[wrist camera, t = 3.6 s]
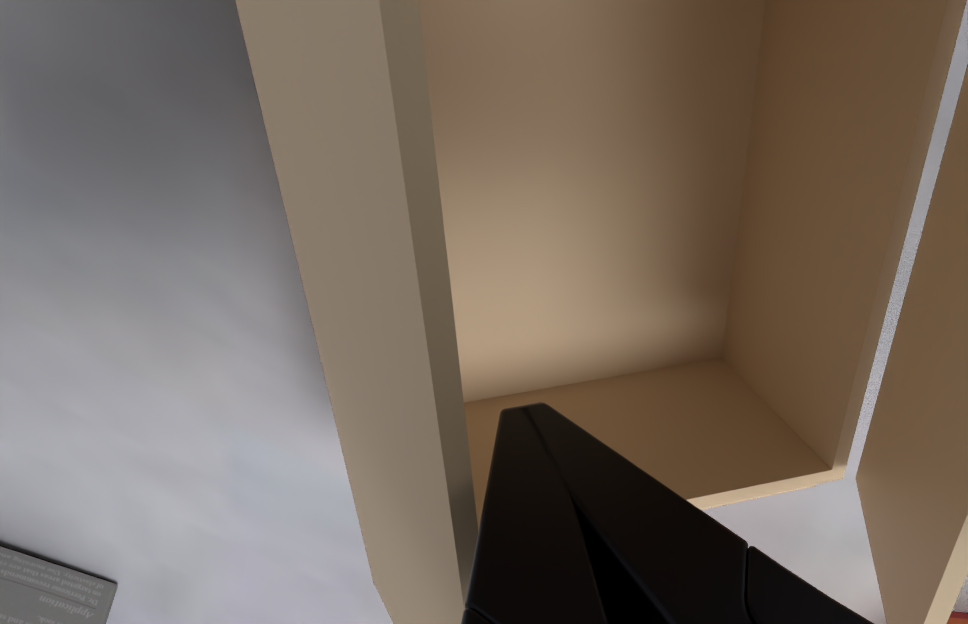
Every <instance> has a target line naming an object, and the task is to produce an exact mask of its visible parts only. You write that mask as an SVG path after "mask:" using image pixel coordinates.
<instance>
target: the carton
mask: <svg viewBox="0 0 968 624" xmlns="http://www.w3.org/2000/svg"><path fill="white" fill-rule="evenodd" d="M966 1H967V0H418V2H419V11H420V20H421V29H422V38H423V46H424V55H425V64H426V73H427V82H428V91H429V99H430V108H431V117H432V126H433V135H434V144H435V152H436V161H437V170H438V179H439V188H440V197H441V205H442V214H443V223H444V232H445V241H446V249H447V258H448V267H449V276H450V285H451V294H452V302H453V311H454V320H455V329H456V338H457V347H458V355H459V364H460V373H461V382H462V391H463V400H464V408H465V417H466V426H467V435H468V444H469V452H470V461H471V470H472V479H473V488H474V497H475V505H476V514H477V523H478V531H479V525H480V520H481V514H482V509H483V503H484V498H485V492H486V487H487V481H488V476H489V470H490V465H491V459H492V454H493V448H494V443H495V437H496V432H497V426H498V421H499V415H500V412H501V410H502V409H504V408H509V407H515V406H521V405H526V404H532V403H537V402H544V403H546V404H548V405H550V406H551V407H552V408H554V409H555V410H557V411H558V412H560V413H561V414H563V415H564V416H565V417H567V418H568V419H570V420H571V421H573V422H574V423H576V424H577V425H578V426H580V427H581V428H583V429H584V430H586V431H587V432H589V433H590V434H591V435H593V436H594V437H596V438H597V439H599V440H600V441H602V442H603V443H605V444H606V445H607V446H609V447H610V448H612V449H613V450H615V451H616V452H618V453H619V454H620V455H622V456H623V457H625V458H626V459H628V460H629V461H631V462H632V463H633V464H635V465H636V466H638V467H639V468H641V469H642V470H644V471H645V472H646V473H648V474H649V475H651V476H652V477H654V478H655V479H657V480H658V481H660V482H661V483H662V484H664V485H665V486H667V487H668V488H670V489H671V490H673V491H674V492H675V493H677V494H678V495H680V496H681V497H683V498H684V499H686V500H687V501H688V502H690V503H691V504H693V505H694V506H696V507H697V508H699V509H700V510H703V509H707V508H712V507H717V506H722V505H727V504H732V503H736V502H741V501H746V500H751V499H756V498H761V497H765V496H770V495H775V494H780V493H785V492H790V491H794V490H799V489H804V488H809V487H814V486H815V485H816V484H820V483H824V482H829V481H834V480H839V479H843V477H844V473H845V469H846V465H847V461H848V457H849V453H850V450H851V446H852V442H853V438H854V434H855V430H856V426H857V423H858V419H859V415H860V411H861V407H862V403H863V399H864V395H865V392H866V388H867V384H868V380H869V376H870V372H871V368H872V365H873V361H874V357H875V353H876V349H877V345H878V341H879V338H880V334H881V330H882V326H883V322H884V318H885V314H886V310H887V307H888V303H889V299H890V295H891V291H892V287H893V283H894V280H895V276H896V272H897V268H898V264H899V260H900V256H901V253H902V249H903V245H904V241H905V237H906V233H907V229H908V225H909V222H910V218H911V214H912V210H913V206H914V202H915V198H916V195H917V191H918V187H919V183H920V179H921V175H922V171H923V168H924V164H925V160H926V156H927V152H928V148H929V144H930V140H931V137H932V133H933V129H934V125H935V121H936V117H937V113H938V110H939V106H940V102H941V98H942V94H943V90H944V86H945V83H946V79H947V75H948V71H949V67H950V63H951V59H952V55H953V52H954V48H955V44H956V40H957V36H958V32H959V28H960V25H961V21H962V17H963V13H964V9H965V5H966Z"/></svg>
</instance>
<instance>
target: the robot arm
mask: <svg viewBox="0 0 968 624" xmlns="http://www.w3.org/2000/svg"><path fill="white" fill-rule="evenodd" d="M461 624H874V623H872V622H870V621H869V620H867V619H865V618H864V617H862V616H860V615H859V614H857V613H855V612H854V611H852V610H850V609H849V608H847V607H845V606H844V605H842V604H840V603H839V602H837V601H835V600H834V599H832V598H830V597H829V596H827V595H826V594H824V593H823V592H821V591H820V590H818V589H816V588H815V587H813V586H812V585H810V584H809V583H807V582H806V581H804V580H803V579H801V578H800V577H798V576H797V575H795V574H794V573H792V572H791V571H789V570H788V569H786V568H785V567H783V566H782V565H780V564H779V563H777V562H776V561H774V560H773V559H771V558H770V557H769V556H767V555H766V554H764V553H763V552H761V551H760V550H758V549H757V548H755V547H754V546H750V547H749V548H748V544H747V542H746V541H745V540H743V539H742V538H741V537H739V536H738V535H736V534H735V533H733V532H732V531H730V530H729V529H728V528H726V527H725V526H723V525H722V524H720V523H719V522H717V521H716V520H715V519H713V518H712V517H710V516H709V515H707V514H706V513H704V512H703V511H701V510H700V509H699V508H697V507H696V506H694V505H693V504H691V503H690V502H688V501H687V500H686V499H684V498H683V497H681V496H680V495H678V494H677V493H675V492H674V491H673V490H671V489H670V488H668V487H667V486H665V485H664V484H662V483H661V482H660V481H658V480H657V479H655V478H654V477H652V476H651V475H649V474H648V473H646V472H645V471H644V470H642V469H641V468H639V467H638V466H636V465H635V464H633V463H632V462H631V461H629V460H628V459H626V458H625V457H623V456H622V455H620V454H619V453H618V452H616V451H615V450H613V449H612V448H610V447H609V446H607V445H606V444H605V443H603V442H602V441H600V440H599V439H597V438H596V437H594V436H593V435H591V434H590V433H589V432H587V431H586V430H584V429H583V428H581V427H580V426H578V425H577V424H576V423H574V422H573V421H571V420H570V419H568V418H567V417H565V416H564V415H563V414H561V413H560V412H558V411H557V410H555V409H554V408H552V407H551V406H550V405H548V404H546V403H544V402H537V403H532V404H526V405H521V406H515V407H509V408H504V409H502V410H501V412H500V415H499V421H498V426H497V432H496V437H495V443H494V448H493V454H492V459H491V465H490V470H489V476H488V481H487V487H486V492H485V498H484V503H483V509H482V514H481V520H480V525H479V531H478V536H477V542H476V547H475V553H474V558H473V564H472V569H471V575H470V580H469V586H468V591H467V597H466V602H465V610H464V612H463V616H462V621H461Z"/></svg>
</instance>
